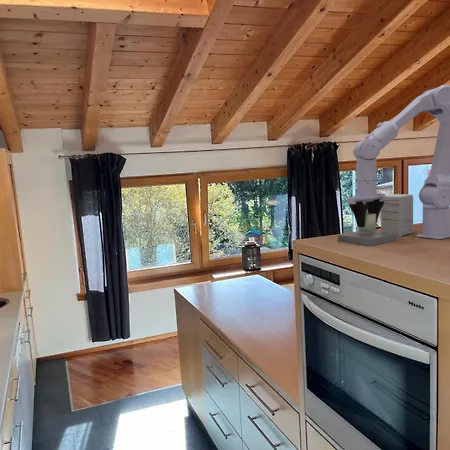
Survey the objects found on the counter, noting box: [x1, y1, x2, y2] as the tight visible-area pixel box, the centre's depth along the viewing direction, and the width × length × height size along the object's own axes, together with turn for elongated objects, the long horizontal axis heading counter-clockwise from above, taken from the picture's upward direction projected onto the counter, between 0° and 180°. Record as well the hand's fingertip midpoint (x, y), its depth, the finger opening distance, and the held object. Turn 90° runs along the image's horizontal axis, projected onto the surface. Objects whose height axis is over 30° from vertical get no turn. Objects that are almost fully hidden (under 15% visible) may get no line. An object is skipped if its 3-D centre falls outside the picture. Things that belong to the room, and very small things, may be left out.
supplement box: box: [380, 193, 414, 237], centre depth 140 cm, size 7×7×13 cm
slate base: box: [337, 230, 398, 247], centre depth 131 cm, size 12×12×2 cm
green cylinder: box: [358, 213, 377, 232], centre depth 130 cm, size 5×5×5 cm
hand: (366, 225), depth 131 cm, fingers closed on green cylinder, 5 cm apart
